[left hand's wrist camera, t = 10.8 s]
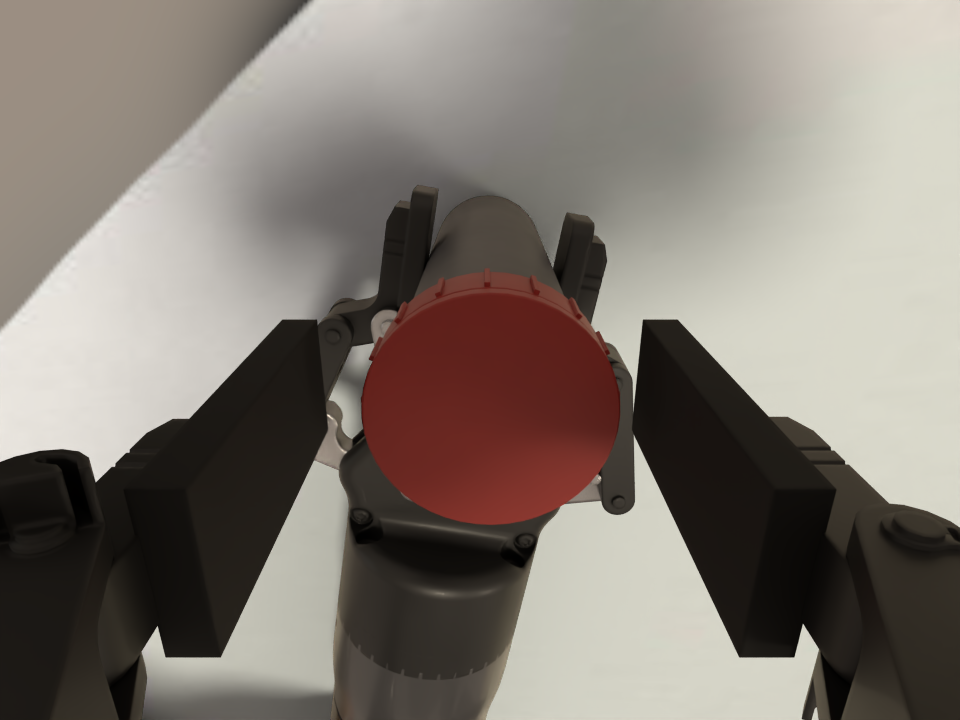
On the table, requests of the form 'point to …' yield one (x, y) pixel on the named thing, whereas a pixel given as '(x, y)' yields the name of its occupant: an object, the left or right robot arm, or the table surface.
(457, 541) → the right robot arm
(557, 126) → the table surface
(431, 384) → the lid
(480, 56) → the table surface
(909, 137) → the table surface
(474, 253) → the jar
